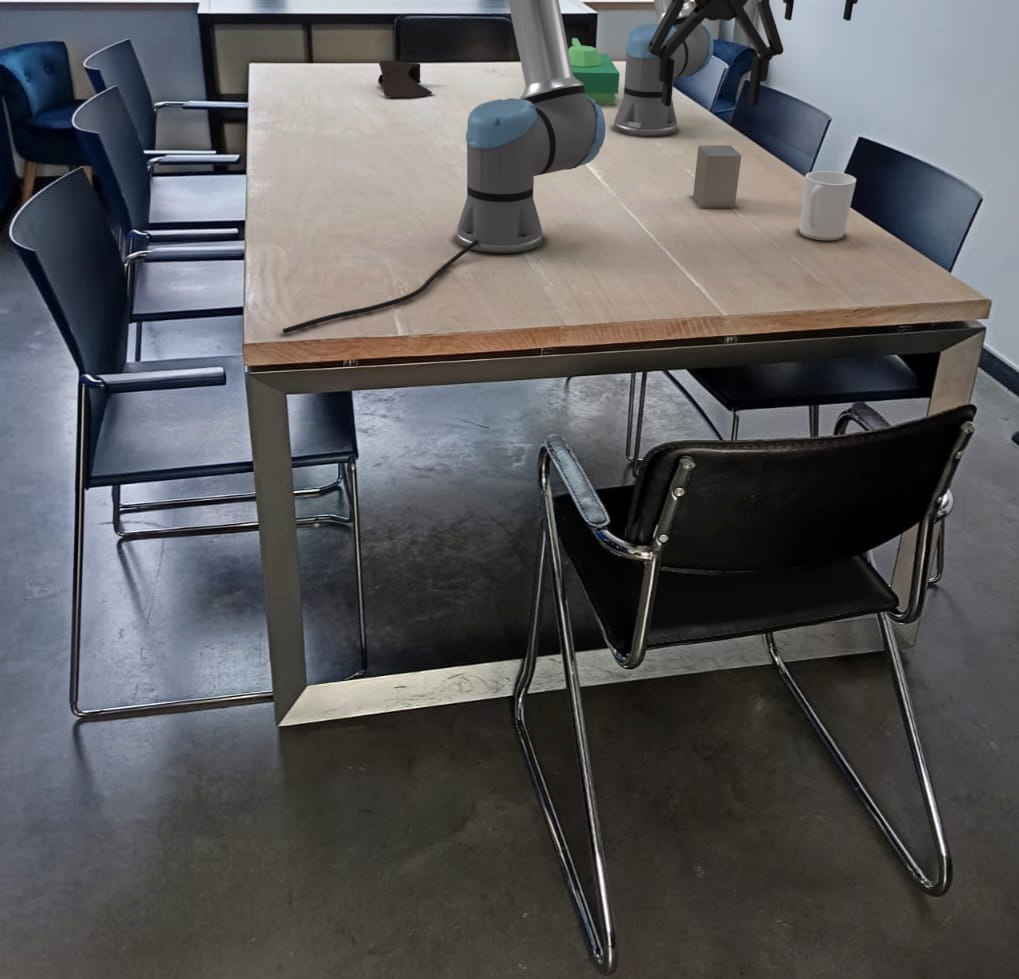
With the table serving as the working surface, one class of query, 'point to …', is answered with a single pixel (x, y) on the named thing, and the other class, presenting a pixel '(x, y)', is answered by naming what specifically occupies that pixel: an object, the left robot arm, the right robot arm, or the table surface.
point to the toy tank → (594, 72)
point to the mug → (826, 204)
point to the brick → (716, 176)
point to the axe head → (401, 79)
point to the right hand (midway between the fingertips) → (817, 19)
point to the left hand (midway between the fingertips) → (709, 104)
